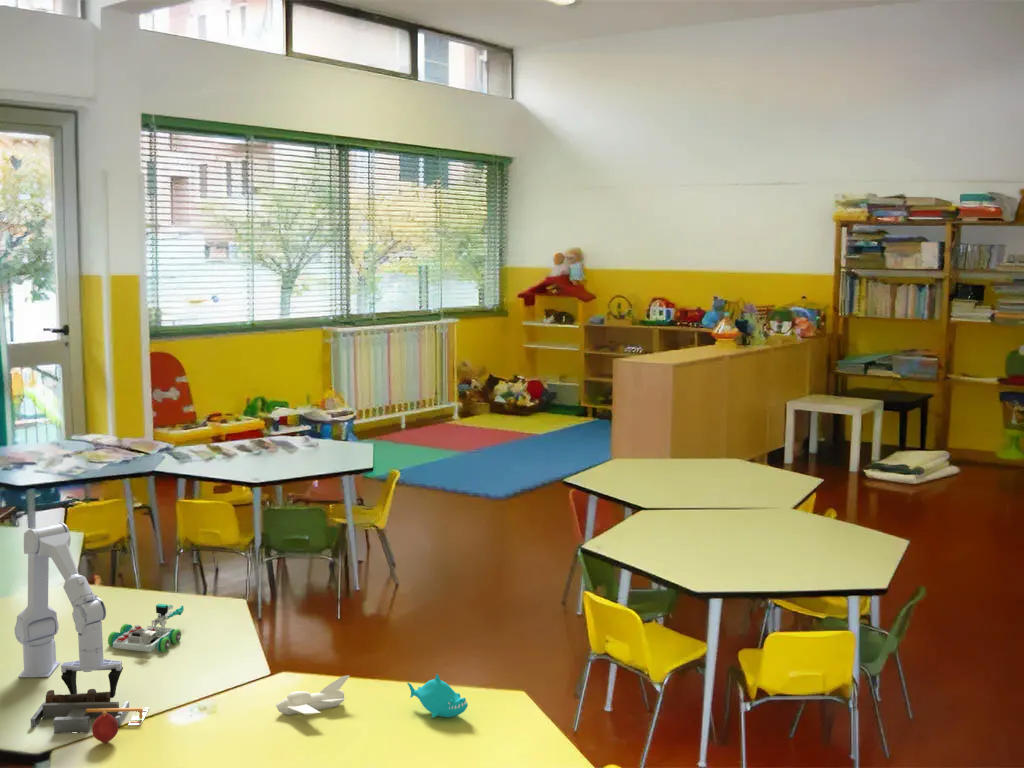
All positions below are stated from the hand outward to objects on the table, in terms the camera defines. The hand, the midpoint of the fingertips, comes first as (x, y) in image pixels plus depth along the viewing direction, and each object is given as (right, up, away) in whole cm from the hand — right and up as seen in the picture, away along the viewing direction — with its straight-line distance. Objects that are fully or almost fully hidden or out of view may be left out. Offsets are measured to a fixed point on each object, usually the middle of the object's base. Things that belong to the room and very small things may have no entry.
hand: (93, 696), depth 269 cm
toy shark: (+88, -4, 0) cm, 88 cm away
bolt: (-2, -2, -3) cm, 5 cm away
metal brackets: (+3, -3, -9) cm, 10 cm away
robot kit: (+1, +4, +43) cm, 43 cm away
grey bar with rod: (+4, -3, -9) cm, 11 cm away
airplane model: (+57, -4, +1) cm, 57 cm away
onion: (+11, -5, -20) cm, 23 cm away
